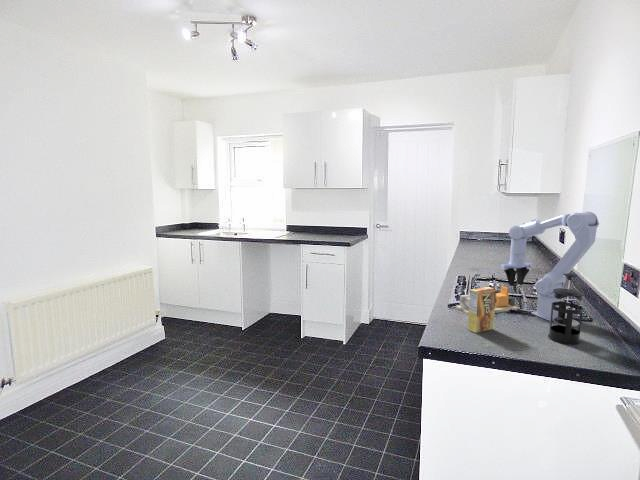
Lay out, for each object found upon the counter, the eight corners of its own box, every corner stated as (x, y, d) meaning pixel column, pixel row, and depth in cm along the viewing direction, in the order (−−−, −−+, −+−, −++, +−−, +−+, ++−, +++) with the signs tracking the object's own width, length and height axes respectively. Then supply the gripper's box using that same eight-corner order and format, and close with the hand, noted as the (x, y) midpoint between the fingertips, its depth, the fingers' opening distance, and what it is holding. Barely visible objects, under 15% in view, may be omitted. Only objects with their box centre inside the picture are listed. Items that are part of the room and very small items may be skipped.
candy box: (484, 325, 150) (487, 286, 148) (493, 329, 146) (496, 289, 144) (467, 329, 146) (469, 289, 144) (476, 333, 143) (478, 292, 140)
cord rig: (519, 309, 168) (520, 296, 167) (470, 315, 161) (471, 301, 160) (502, 302, 177) (503, 289, 176) (455, 307, 171) (456, 294, 170)
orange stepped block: (507, 305, 169) (509, 288, 168) (498, 306, 168) (499, 289, 167) (500, 302, 173) (501, 285, 172) (490, 303, 172) (492, 286, 171)
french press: (584, 347, 131) (591, 279, 127) (551, 343, 134) (557, 276, 130) (574, 334, 142) (580, 270, 138) (544, 330, 145) (550, 269, 141)
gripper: (524, 251, 175) (522, 281, 177) (496, 252, 171) (494, 283, 173) (537, 254, 168) (534, 285, 171) (508, 256, 164) (506, 288, 167)
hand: (515, 284), depth 171 cm, fingers open, 4 cm apart
